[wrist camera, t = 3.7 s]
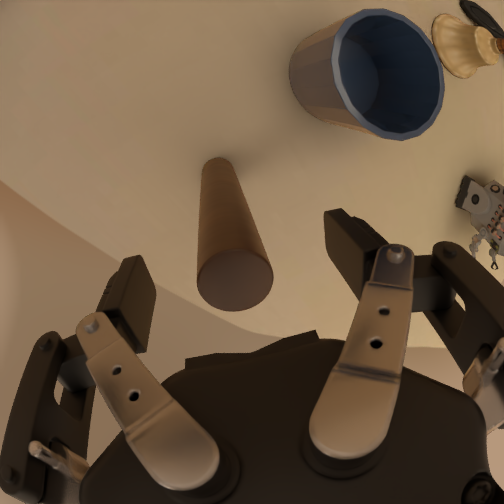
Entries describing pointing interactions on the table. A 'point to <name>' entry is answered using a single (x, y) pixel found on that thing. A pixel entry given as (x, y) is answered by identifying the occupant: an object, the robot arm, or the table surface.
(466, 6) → the hairbrush
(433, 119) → the cup
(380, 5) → the table surface
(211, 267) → the stick
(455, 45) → the hand bell
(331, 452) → the robot arm
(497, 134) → the table surface
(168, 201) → the table surface
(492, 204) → the figurine
